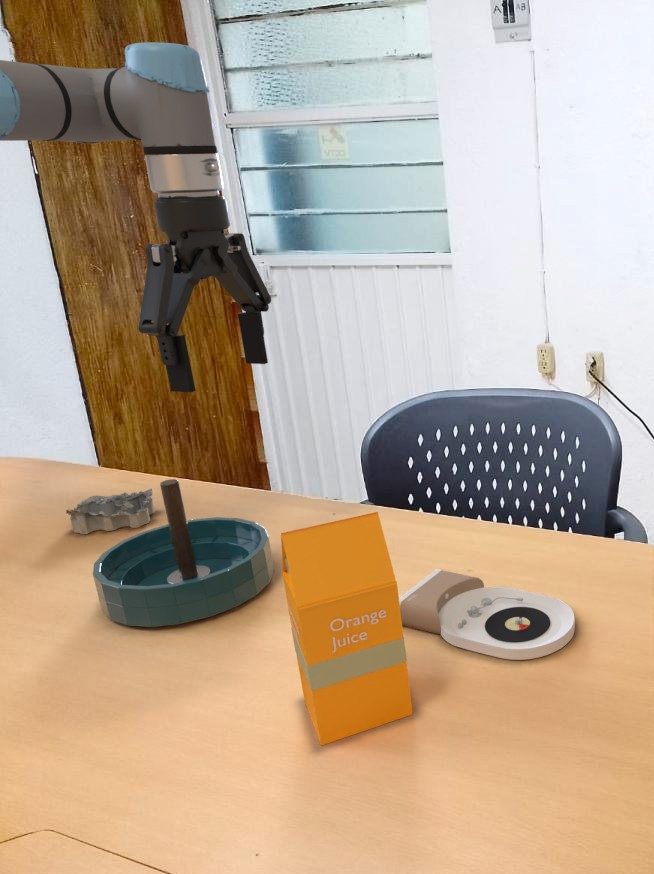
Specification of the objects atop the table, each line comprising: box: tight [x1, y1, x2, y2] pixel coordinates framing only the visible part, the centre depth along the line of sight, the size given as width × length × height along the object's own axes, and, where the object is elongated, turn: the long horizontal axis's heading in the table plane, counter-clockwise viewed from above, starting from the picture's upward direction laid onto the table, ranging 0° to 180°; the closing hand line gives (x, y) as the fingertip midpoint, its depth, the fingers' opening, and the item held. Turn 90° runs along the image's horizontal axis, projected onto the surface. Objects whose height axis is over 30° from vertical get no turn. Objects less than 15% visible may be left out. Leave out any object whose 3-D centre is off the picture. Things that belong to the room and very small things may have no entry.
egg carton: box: [65, 488, 156, 535], centre depth 124 cm, size 11×8×4 cm
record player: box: [399, 568, 576, 661], centre depth 95 cm, size 12×3×20 cm
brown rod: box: [159, 478, 211, 584], centre depth 102 cm, size 5×5×14 cm
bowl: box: [92, 516, 275, 628], centre depth 104 cm, size 20×20×6 cm
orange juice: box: [280, 511, 414, 746], centre depth 78 cm, size 8×9×20 cm
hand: (222, 376), depth 101 cm, fingers open, 13 cm apart
